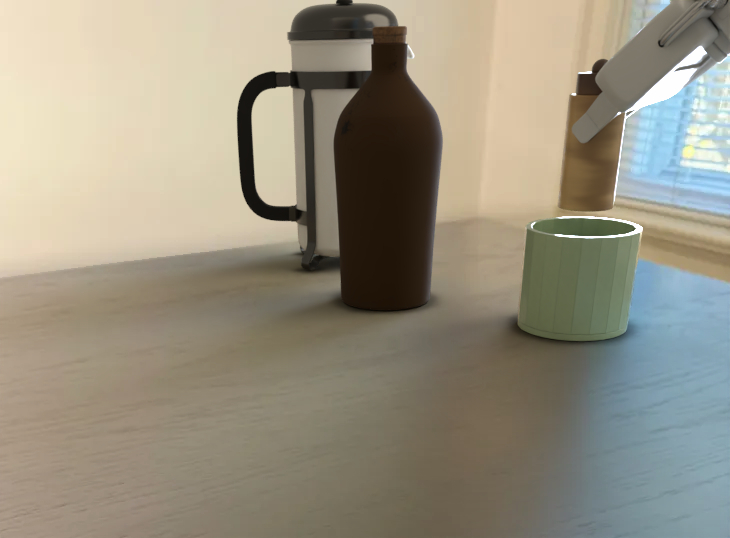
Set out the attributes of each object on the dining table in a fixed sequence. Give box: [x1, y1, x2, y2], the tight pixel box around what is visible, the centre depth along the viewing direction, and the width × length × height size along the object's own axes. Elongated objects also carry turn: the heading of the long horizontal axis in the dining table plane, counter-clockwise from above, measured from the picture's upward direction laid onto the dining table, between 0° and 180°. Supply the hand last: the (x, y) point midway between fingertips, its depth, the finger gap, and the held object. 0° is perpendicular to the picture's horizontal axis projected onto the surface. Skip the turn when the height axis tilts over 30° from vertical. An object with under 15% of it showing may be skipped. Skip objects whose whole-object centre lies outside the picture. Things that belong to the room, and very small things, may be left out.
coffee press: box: [236, 0, 415, 272], centre depth 103 cm, size 17×16×30 cm
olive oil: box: [333, 25, 444, 311], centre depth 88 cm, size 11×11×25 cm
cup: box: [517, 216, 644, 342], centre depth 82 cm, size 10×10×9 cm
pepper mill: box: [557, 58, 626, 213], centre depth 76 cm, size 5×5×12 cm
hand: (587, 133), depth 76 cm, fingers closed on pepper mill, 5 cm apart
